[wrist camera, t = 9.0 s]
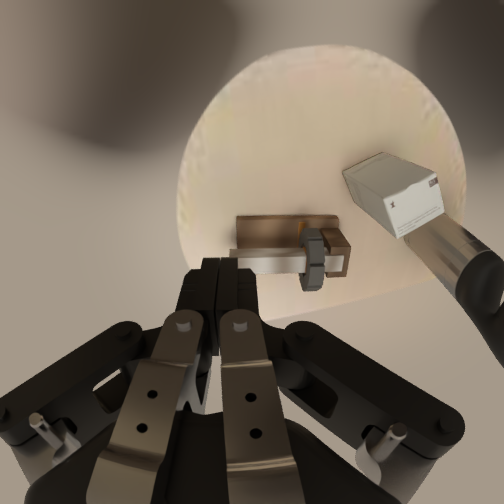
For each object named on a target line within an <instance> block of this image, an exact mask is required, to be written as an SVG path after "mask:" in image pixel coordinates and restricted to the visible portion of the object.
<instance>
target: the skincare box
mask: <svg viewBox="0 0 504 504" xmlns="http://www.w3.org/2000/svg"><path fill="white" fill-rule="evenodd" d="M343 175H344V178H345V180H346V183H347V185H348V187H349V190H350V192H351V195H352V197H353V200H354V202H355V203H356V204H357V205H358V206H359V207H360V208H362V209H363V210H364V211H365V212H367V213H368V214H369V215H370V216H371V217H372V218H374V219H375V220H376V221H377V222H378V223H379V224H381V225H382V226H383V227H384V228H385V229H386V230H387V231H389V232H390V233H391V234H392V235H393V236H394V237H395V238H396V239H399V238H400V237H402V236H404V235H406V234H408V233H409V232H411V231H413V230H415V229H416V228H418V227H420V226H422V225H423V224H425V223H427V222H429V221H430V220H432V219H434V218H435V217H437V216H439V215H441V214H442V213H444V212H445V211H444V205H443V200H442V196H441V192H440V187H439V183H438V180H437V175H436V172H434V171H431V170H429V169H427V168H424V167H421V166H419V165H416V164H414V163H411V162H408V161H406V160H403V159H400V158H398V157H395V156H392V155H389V154H386V153H384V152H382V153H380V154H378V155H376V156H374V157H371V158H369V159H367V160H365V161H363V162H361V163H359V164H357V165H355V166H353V167H351V168H349V169H347V170H345V171H343Z"/></svg>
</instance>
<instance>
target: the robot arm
mask: <svg viewBox="0 0 504 504" xmlns="http://www.w3.org/2000/svg"><path fill="white" fill-rule="evenodd" d="M404 239H405V242H406V244H407V245H408V246H409V247H410V248H411V250H412V251H413V252H414V253H415V254H416V255H417V256H418V257H419V258H420V259H421V260H422V261H423V263H424V264H425V265H426V266H427V267H428V268H429V269H430V270H431V271H432V273H433V274H434V275H435V276H436V277H437V278H438V279H439V280H440V282H441V283H442V284H443V285H444V286H445V287H446V289H447V290H448V291H449V292H450V293H451V294H452V296H453V297H454V298H455V299H456V300H457V301H458V303H459V304H460V305H461V306H462V308H463V309H464V311H465V312H466V313H467V315H468V316H469V317H470V318H471V320H472V321H473V323H474V324H475V326H476V327H477V329H478V330H479V331H480V333H481V335H482V336H483V338H484V339H485V341H486V343H487V344H488V346H489V348H490V349H491V351H492V352H493V354H494V355H495V357H496V359H497V360H498V361H499V363H500V364H501V365H502V367H503V368H504V302H503V303H502V305H501V306H500V301H501V297H502V294H503V291H504V261H503V260H502V259H501V258H500V257H499V256H498V255H497V254H496V253H495V252H493V251H492V250H491V249H490V248H489V247H487V246H486V245H485V244H484V243H482V242H481V241H480V240H478V239H477V238H476V237H475V236H474V235H472V234H471V233H470V232H469V231H467V230H466V229H465V228H463V227H462V226H461V225H459V224H458V223H457V222H455V221H454V220H453V219H451V218H450V217H449V216H447V215H446V214H445V213H442V214H441V215H439V216H437V217H435V218H434V219H432V220H430V221H429V222H427V223H425V224H423V225H422V226H420V227H418V228H416V229H415V230H413V231H411V232H409V233H408V234H406V235H404ZM219 347H220V355H221V385H222V402H223V412H218V413H213V414H208V415H205V405H206V400H207V394H208V388H209V383H210V377H211V364H212V356H219ZM118 369H119V370H120V372H121V373H119V374H118V375H116V376H115V377H114V378H112V379H111V380H109V381H108V382H106V383H105V384H104V385H102V386H101V387H99V388H98V389H97V390H95V391H93V388H94V387H95V386H96V385H97V384H98V383H99V382H101V381H102V380H103V379H105V378H106V377H108V376H109V375H111V374H112V373H114V372H115V371H116V370H118ZM278 386H279V389H280V391H281V392H282V393H283V394H284V395H285V396H287V397H288V398H289V399H290V400H291V401H293V402H294V403H295V404H296V405H298V406H299V407H300V408H301V409H303V410H304V411H305V412H306V413H308V414H309V415H310V416H311V417H313V418H314V419H315V420H316V421H318V422H319V423H320V424H322V425H323V426H324V427H326V428H327V429H328V430H330V431H331V432H332V433H334V434H335V435H336V436H338V437H339V438H341V439H342V440H343V441H344V442H346V443H347V444H349V445H350V446H351V447H353V448H354V449H356V450H357V451H356V455H355V460H356V464H357V466H358V467H359V469H361V470H362V471H363V472H364V473H365V475H366V476H367V477H366V476H365V475H363V474H362V473H361V472H359V471H358V470H357V469H355V468H354V467H353V466H351V465H350V464H349V463H348V462H346V461H345V460H344V459H343V458H341V457H340V456H339V455H338V454H336V453H335V452H334V451H333V450H332V449H330V448H329V447H328V446H327V445H325V444H324V443H323V442H322V441H321V440H319V439H318V438H317V437H316V436H315V435H314V434H312V433H311V432H310V431H309V430H308V429H306V428H305V427H303V426H301V425H300V424H298V423H296V422H294V421H291V420H289V419H286V418H284V414H283V409H282V405H281V400H280V396H279V391H278ZM464 432H465V423H464V420H463V417H462V416H461V414H460V413H459V412H458V411H457V410H455V409H454V408H452V407H450V406H449V405H447V404H445V403H443V402H442V401H440V400H438V399H437V398H435V397H433V396H432V395H430V394H428V393H426V392H425V391H423V390H422V389H420V388H418V387H417V386H415V385H413V384H412V383H410V382H408V381H407V380H405V379H403V378H402V377H400V376H398V375H397V374H395V373H393V372H392V371H390V370H388V369H387V368H385V367H383V366H382V365H380V364H379V363H377V362H375V361H374V360H372V359H371V358H369V357H368V356H366V355H364V354H362V353H361V352H360V351H358V350H356V349H355V348H353V347H351V346H350V345H348V344H347V343H345V342H343V341H342V340H340V339H339V338H337V337H336V336H334V335H333V334H331V333H330V332H328V331H326V330H325V329H323V328H322V327H320V326H319V325H317V324H315V323H312V322H308V321H297V322H293V323H291V324H289V325H288V326H287V327H286V328H285V329H280V328H275V327H272V326H270V325H268V324H266V323H265V322H264V321H262V319H261V318H260V316H259V309H258V297H257V285H256V275H255V273H254V272H253V271H252V270H251V268H238V257H221V261H220V258H203V260H202V265H201V269H191V270H190V271H189V272H188V273H187V274H186V275H185V277H184V280H183V285H182V288H181V291H180V295H179V299H178V302H177V306H176V309H175V312H173V313H172V314H170V315H169V316H168V317H167V318H166V319H165V321H164V324H163V326H161V327H158V328H155V329H150V330H145V331H142V328H141V326H140V325H138V324H137V323H135V322H132V321H124V322H119V323H117V324H115V325H113V326H111V327H110V328H108V329H107V330H105V331H104V332H102V333H101V334H99V335H97V336H96V337H94V338H93V339H91V340H90V341H88V342H86V343H85V344H83V345H82V346H80V347H79V348H77V349H75V350H74V351H72V352H71V353H69V354H68V355H66V356H64V357H63V358H61V359H60V360H58V361H57V362H55V363H54V364H52V365H50V366H49V367H47V368H46V369H44V370H43V371H41V372H40V373H38V374H36V375H35V376H34V377H32V378H30V379H29V380H27V381H26V382H24V383H23V384H21V385H20V386H18V387H16V388H15V389H14V390H12V391H10V392H9V393H8V394H6V395H4V396H3V397H1V398H0V437H1V438H2V439H3V440H4V441H5V442H6V443H7V444H8V445H9V446H10V447H11V449H12V451H13V453H14V455H15V457H16V459H17V461H18V463H19V465H20V467H21V469H22V471H23V473H24V475H25V476H26V478H27V480H28V482H29V483H30V485H31V486H30V487H29V489H28V491H27V493H26V496H25V501H24V504H407V503H408V502H409V501H410V499H411V498H412V496H413V495H414V494H415V492H416V491H417V490H418V488H419V487H420V485H421V484H422V482H423V481H424V479H425V478H426V476H427V475H428V473H429V472H430V470H431V469H432V467H433V465H434V464H435V462H436V461H437V460H438V459H439V458H441V457H442V456H443V455H444V454H445V453H446V452H448V451H449V450H450V449H451V448H452V447H453V446H454V445H455V444H456V443H458V441H460V440H461V438H462V437H463V435H464Z"/></svg>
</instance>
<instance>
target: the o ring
mask: <svg viewBox="0 0 504 504" xmlns="http://www.w3.org/2000/svg"><path fill="white" fill-rule="evenodd" d="M299 236H300V238H299V243H298V248H303V247H305V248H306V256H307V268H306V274H305V273H299V276H300V278H299V280H300V283H301V287H302V290H303V292H304V291H317V290H319V289H320V288H322V285H323V279H324V273H325V265H324V263H325V253H324V243H323V241H322V235H321V234H320V232H319V230H318V228H303V229H302V231H301V233H300V235H299Z"/></svg>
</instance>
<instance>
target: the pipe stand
mask: <svg viewBox="0 0 504 504" xmlns="http://www.w3.org/2000/svg"><path fill="white" fill-rule="evenodd" d="M338 226H339V218H338V217H337V216H237V248H238V249H230V253H229V257H238V268H251V270H252V271H253V272H254V273H255V274H278V273H305V274H306V268H307V256H306V248H305V247H303V248H298V243H299V238H300V236H299V235H300V233H301V231H302V229H303V228H318V230H319V232H320V234H321V235H322V241H323V243H324V253H325V263H324V265H325V274H326V277H327V278H331V277H346V274H347V269H348V263H349V258H350V252H351V246H350V244H349V243H348V241H347V240H346V238H345V237H344V236H343V234H342V233H341V231H340V230H339V228H338Z"/></svg>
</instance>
